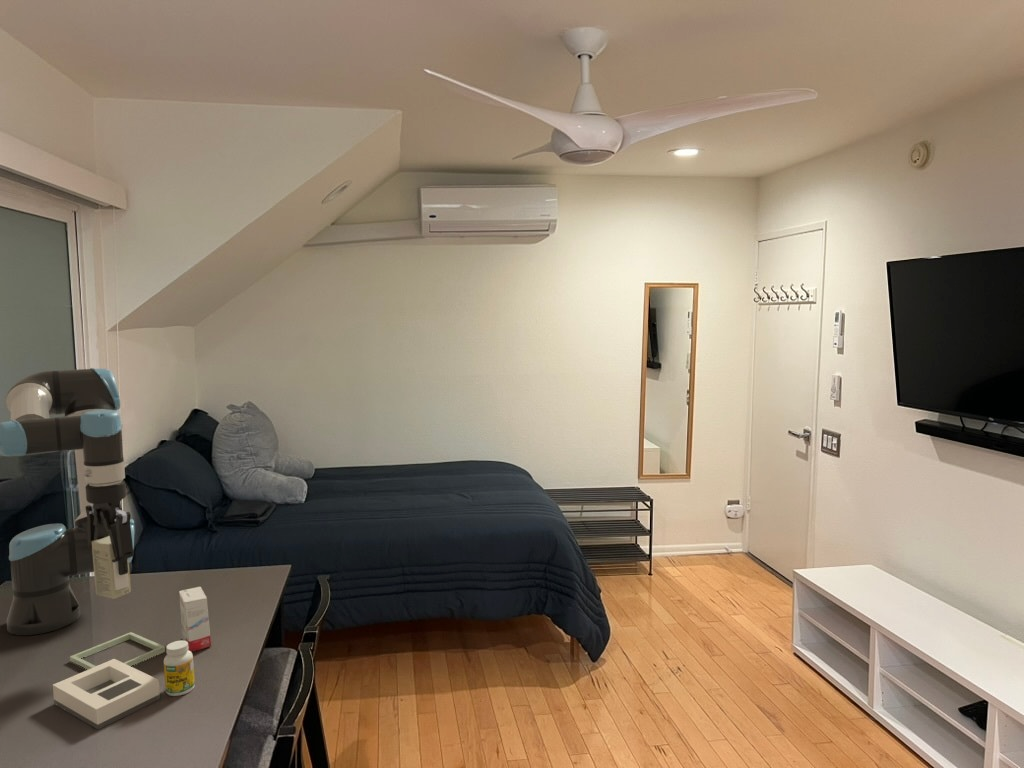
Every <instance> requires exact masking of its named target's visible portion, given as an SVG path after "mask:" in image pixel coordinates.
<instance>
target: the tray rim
mask: <svg viewBox="0 0 1024 768" xmlns="http://www.w3.org/2000/svg"><path fill="white" fill-rule="evenodd" d="M128 640H131V641H134V642H136V643H138V644H139V645H142V646H144V647H146V648H150V649H151V650H149V651H147V652H144V653H143V654H140V655H139V656H136V657H134V658H131V659H130V660H127V661H125V662H123V663H124V664H127V665H129V666H132V665H134V666H136V665H138V664H137V663H139V662H141V661H143V662H145V661H148V660H150V659H152V658H154V657H156V655H157V656H159V655H161V654H163V653H165V652H166V646H164V645H162V644H161V643H157V642H155V641H153V640H150V639H148V638H145V637H143V636H141V635H139V634H136V633H134V632H132V631H130V632H128V633H125V634H123V635H119V636H118V637H115V638H113V639H110V640H108V641H105V642H103V643H100V644H98V645H95V646H92V647H91V648H90V647H89V648H87V649H85V650H83V651H81V652H78V653H77V652H76V653H75V654H72V655H70V656H69V661H72V662H75V663H76V664H78V665H80V666H82V667H84V668H85V669H84V668H83V669H84V670H86V669H87V670H89V669H91V668H93V667H96V666H97V665H95V664H93V663H91V662H88V661H87V660H84V658H83V657H85V658H87V657H89V656H91V655H94V654H97V653H99V652H102V651H104V650H106V649H109V648H111V647H113V646H116V645H118V644H122V643H123V642H126V641H128ZM153 656H154V657H153ZM151 657H152V658H151ZM81 658H82V659H81ZM149 658H150V659H149ZM147 659H148V660H147ZM144 660H145V661H144ZM72 662H71V663H72ZM141 663H142V662H141ZM76 664H75V665H76ZM135 664H136V665H135ZM139 664H140V663H139ZM78 665H77V666H78ZM80 666H79V667H80ZM82 667H81V668H82ZM132 667H133V666H132Z"/></svg>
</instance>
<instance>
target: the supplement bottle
mask: <svg viewBox="0 0 1024 768" xmlns="http://www.w3.org/2000/svg"><path fill="white" fill-rule="evenodd" d="M188 648H189V647H188V642H187V641H184V640H183V639H181V640H175V641H172V642H170V643H168V644H167V645H166V646H165V652H166V655H165V656H164V659H163V671H164V673H163V674H164V684H165V685H164V686H165V693H166V694H167V695H168V696H172V697H180V696H183V695H186V694H188V693H190V692H192V691H193V689H195V685H196V683H195V682H196V681H195V669H194V668H195V667H194V657H193V656H194V655H193V652H190V651H189V650H188Z"/></svg>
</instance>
